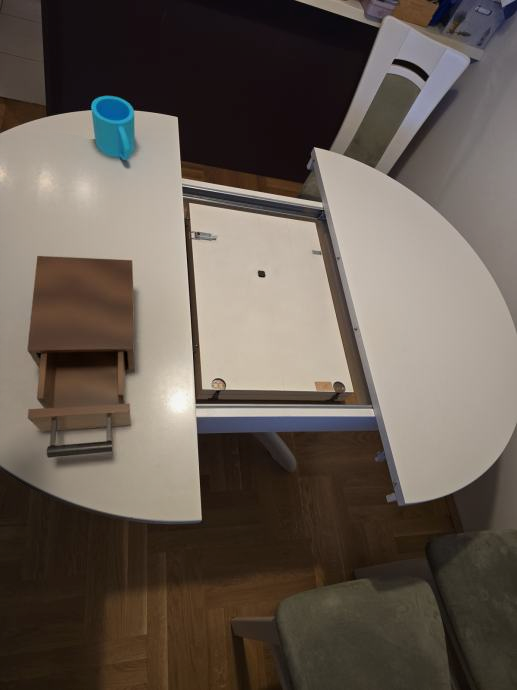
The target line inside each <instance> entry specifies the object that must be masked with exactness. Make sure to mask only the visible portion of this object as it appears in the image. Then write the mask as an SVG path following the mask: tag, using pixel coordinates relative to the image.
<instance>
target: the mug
mask: <svg viewBox="0 0 517 690" xmlns="http://www.w3.org/2000/svg"><path fill="white" fill-rule="evenodd" d="M90 108H91V117H92V125H93V126H92V127H93V134H94V140H95V141H94V143H95V146H96V148H97V150H98V151H99V152H100V153H102V154H103V155H106V156H108V157H110V158H115V159H120V158H121V160H123V161H129V160H130V159H131V155H132V154H133V153H134V151H135V147H136V142H135V141H136V140H135V139H136V137H135V135H136V133H135V132H136V131H135V111H134V107H133V106H132V105H131V103H129V102H128V100H125V99H123V98H121V97H118V96H113V95H103V96H98V97H97V98H95V99H94V100H93V101H92V102H91V106H90Z"/></svg>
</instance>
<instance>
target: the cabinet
mask: <svg viewBox="0 0 517 690" xmlns="http://www.w3.org/2000/svg"><path fill="white" fill-rule="evenodd" d="M133 272H134V270H133V260H132V259H117V258H116V259H115V258H114V259H113V258H95V257H94V258H93V257H92V258H91V257H74V256H73V257H70V256H48V255H37V257H36V264H35V272H34V273H35V274H34V284H33V293H32V303H31V313H30V314H31V315H30V320H29V321H30V323H29V332H28V341H27V352H28V353H29V355H30V357H31V358H32V360H33V362H34V363H35V364H36V366H37V368H38V369H40V358H41V353H50V352H99V351H125V373H134V372H135V328H134V327H135V313H134V312H135V311H134V309H135V307H134V306H135V305H134V273H133Z"/></svg>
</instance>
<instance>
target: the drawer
mask: <svg viewBox="0 0 517 690" xmlns="http://www.w3.org/2000/svg"><path fill="white" fill-rule="evenodd" d="M38 369H39V368H38ZM38 371H39V372H38V381H37V391H36V392H37V393H36V400H37V401H38V402H39V403H40V405H41V406H42V407H43V408H42V407H41V408H29V409H28V411H27V419H28V420H29V421H30V422H31V423H32V424H33V425H34V426H35V427H36V428H37V429H38V430H39V431H40V432H50V437H49V445H48V446H47V448H46V457H47V458H48V459H50V458H61V457H72V456H82V455H94V454H104V453H106V454H107V453H113V452H114V441H113V440H112V427H119V426H120V427H121V426H131V425H132V415H131V405H130V403H129V402H128V403H126V372H125V351H99V352H50V353H41V358H40V369H39V370H38ZM94 428H106V439H105V440H103V441H93V442H80V443H70V444H67V443H66V444H58V445H56V444H57V431H67V430H78V429H94Z"/></svg>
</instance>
